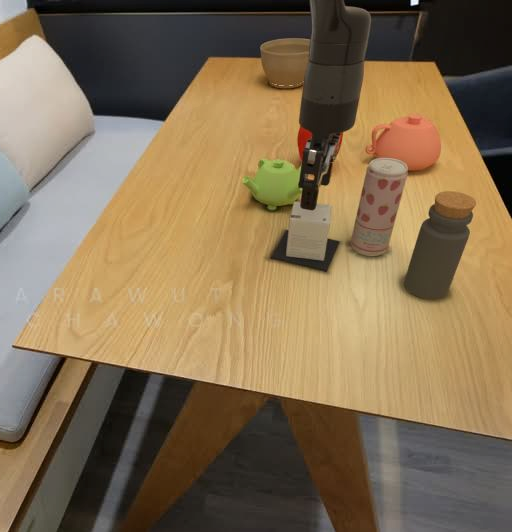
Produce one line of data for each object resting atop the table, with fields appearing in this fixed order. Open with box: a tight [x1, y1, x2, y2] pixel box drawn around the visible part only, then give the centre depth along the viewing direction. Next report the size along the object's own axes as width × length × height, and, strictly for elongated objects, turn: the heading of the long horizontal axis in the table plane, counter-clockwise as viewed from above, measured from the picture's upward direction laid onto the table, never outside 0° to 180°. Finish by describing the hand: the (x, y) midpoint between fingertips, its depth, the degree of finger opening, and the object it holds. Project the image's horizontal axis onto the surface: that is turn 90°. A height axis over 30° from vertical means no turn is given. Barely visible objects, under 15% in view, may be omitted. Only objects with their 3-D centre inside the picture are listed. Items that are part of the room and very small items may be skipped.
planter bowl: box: [259, 37, 311, 89], centre depth 151 cm, size 16×16×11 cm
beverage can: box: [349, 158, 409, 257], centre depth 83 cm, size 6×6×15 cm
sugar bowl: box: [364, 113, 442, 171], centre depth 106 cm, size 12×14×10 cm
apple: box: [296, 125, 344, 163], centre depth 108 cm, size 9×9×11 cm
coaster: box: [270, 229, 340, 273], centre depth 88 cm, size 9×9×1 cm
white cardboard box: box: [286, 200, 333, 261], centre depth 85 cm, size 6×6×7 cm
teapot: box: [241, 158, 302, 211], centre depth 99 cm, size 11×12×8 cm
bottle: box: [403, 190, 477, 300], centre depth 73 cm, size 6×6×15 cm
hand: (315, 195), depth 82 cm, fingers open, 8 cm apart
